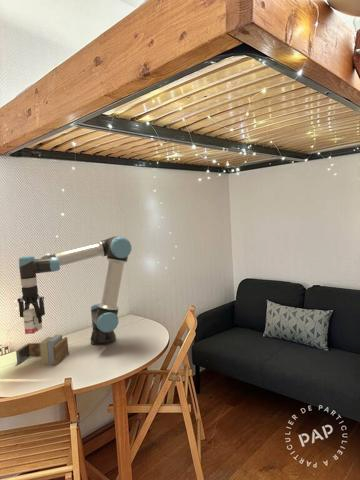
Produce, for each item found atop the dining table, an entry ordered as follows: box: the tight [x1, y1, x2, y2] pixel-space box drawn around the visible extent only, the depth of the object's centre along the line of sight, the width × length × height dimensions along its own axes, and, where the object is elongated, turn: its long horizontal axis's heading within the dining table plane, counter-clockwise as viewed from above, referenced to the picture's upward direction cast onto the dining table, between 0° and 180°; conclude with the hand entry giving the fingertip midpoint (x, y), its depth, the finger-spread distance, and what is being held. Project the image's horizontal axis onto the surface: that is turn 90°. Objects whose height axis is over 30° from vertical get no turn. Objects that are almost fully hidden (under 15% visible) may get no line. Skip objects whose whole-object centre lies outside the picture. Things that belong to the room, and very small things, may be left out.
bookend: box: [15, 343, 31, 365], centre depth 177 cm, size 2×9×7 cm, turn 173°
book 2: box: [47, 334, 63, 365], centre depth 174 cm, size 4×9×12 cm, turn 173°
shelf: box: [27, 336, 70, 366], centre depth 176 cm, size 23×13×11 cm, turn 83°
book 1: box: [39, 336, 53, 365], centre depth 175 cm, size 4×8×11 cm, turn 173°
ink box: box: [23, 306, 43, 335], centre depth 173 cm, size 9×5×12 cm, turn 171°
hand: (34, 329), depth 173 cm, fingers closed on ink box, 5 cm apart
